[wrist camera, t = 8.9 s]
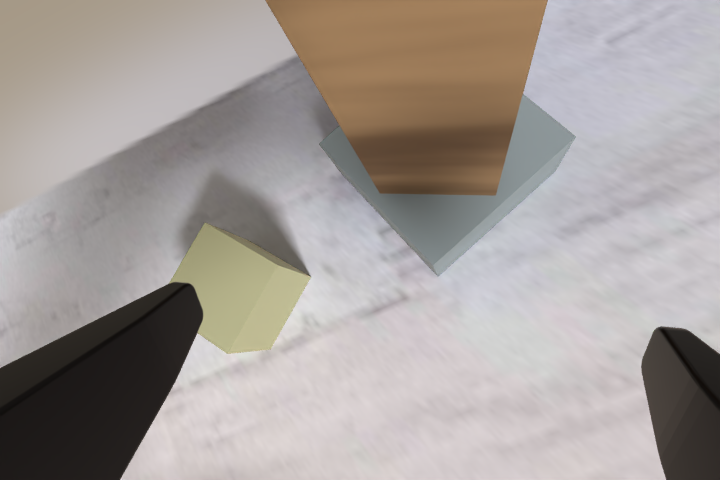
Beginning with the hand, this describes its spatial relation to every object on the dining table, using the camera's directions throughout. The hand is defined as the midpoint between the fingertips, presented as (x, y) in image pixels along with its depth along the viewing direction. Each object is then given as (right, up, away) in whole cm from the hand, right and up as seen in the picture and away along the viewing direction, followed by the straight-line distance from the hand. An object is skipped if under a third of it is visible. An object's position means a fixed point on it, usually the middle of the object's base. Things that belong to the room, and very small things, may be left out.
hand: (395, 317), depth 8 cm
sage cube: (-6, -1, +15) cm, 17 cm away
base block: (+4, +5, +14) cm, 16 cm away
